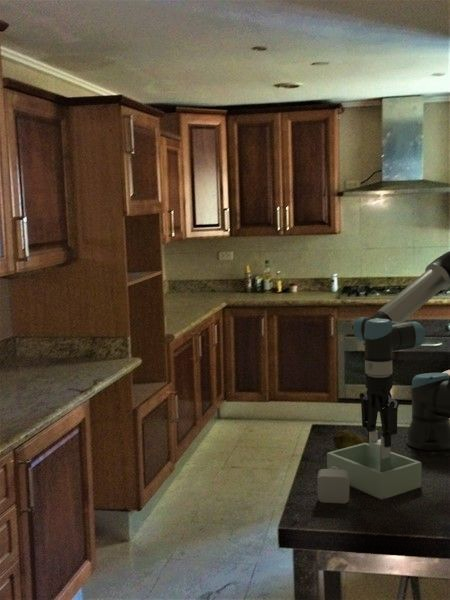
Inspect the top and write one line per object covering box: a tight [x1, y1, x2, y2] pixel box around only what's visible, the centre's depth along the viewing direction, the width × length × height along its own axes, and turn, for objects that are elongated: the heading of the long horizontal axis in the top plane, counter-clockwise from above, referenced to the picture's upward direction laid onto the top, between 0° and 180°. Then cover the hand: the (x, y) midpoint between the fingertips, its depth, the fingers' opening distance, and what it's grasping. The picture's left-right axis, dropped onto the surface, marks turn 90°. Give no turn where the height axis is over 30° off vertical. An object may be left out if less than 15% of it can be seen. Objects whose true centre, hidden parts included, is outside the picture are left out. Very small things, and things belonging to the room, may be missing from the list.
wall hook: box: [316, 466, 350, 504], centre depth 196 cm, size 8×10×10 cm
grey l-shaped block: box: [370, 438, 391, 472], centre depth 205 cm, size 10×4×10 cm, turn 122°
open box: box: [326, 443, 422, 500], centre depth 206 cm, size 15×22×7 cm
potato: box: [332, 429, 369, 450], centre depth 228 cm, size 8×13×8 cm, turn 82°
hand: (379, 455), depth 207 cm, fingers closed on grey l-shaped block, 4 cm apart
